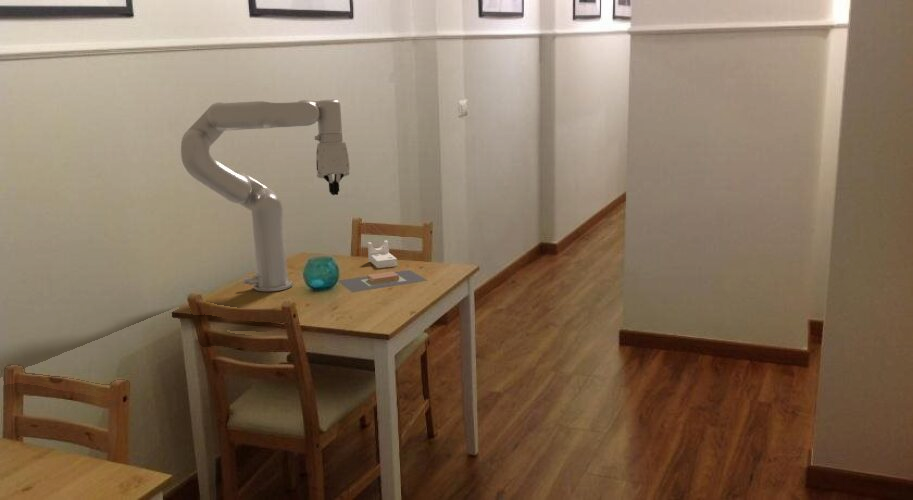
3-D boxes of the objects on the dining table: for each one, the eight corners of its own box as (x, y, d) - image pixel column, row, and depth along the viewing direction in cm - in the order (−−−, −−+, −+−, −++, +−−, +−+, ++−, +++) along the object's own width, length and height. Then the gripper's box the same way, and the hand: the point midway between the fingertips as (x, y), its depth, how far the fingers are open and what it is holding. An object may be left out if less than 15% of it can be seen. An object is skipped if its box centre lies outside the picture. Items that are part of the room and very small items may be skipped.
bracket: (368, 262, 302) (367, 242, 300) (387, 260, 304) (386, 240, 303) (377, 270, 290) (376, 249, 288) (397, 268, 292) (396, 247, 291)
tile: (373, 279, 269) (399, 275, 273) (367, 274, 275) (392, 271, 278) (373, 284, 270) (399, 280, 273) (367, 280, 275) (392, 276, 279)
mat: (352, 294, 262) (352, 292, 262) (337, 282, 276) (337, 280, 276) (427, 282, 272) (427, 280, 272) (409, 271, 286) (409, 269, 286)
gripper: (311, 141, 262) (315, 198, 266) (356, 137, 268) (359, 193, 272) (305, 139, 269) (309, 195, 273) (349, 136, 275) (352, 190, 279)
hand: (334, 194), depth 273 cm, fingers closed
